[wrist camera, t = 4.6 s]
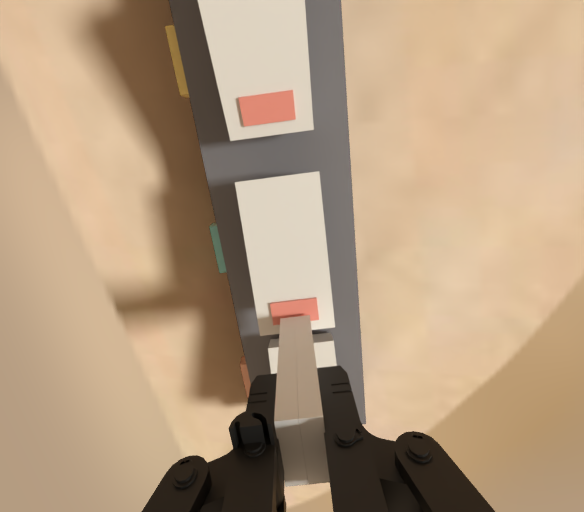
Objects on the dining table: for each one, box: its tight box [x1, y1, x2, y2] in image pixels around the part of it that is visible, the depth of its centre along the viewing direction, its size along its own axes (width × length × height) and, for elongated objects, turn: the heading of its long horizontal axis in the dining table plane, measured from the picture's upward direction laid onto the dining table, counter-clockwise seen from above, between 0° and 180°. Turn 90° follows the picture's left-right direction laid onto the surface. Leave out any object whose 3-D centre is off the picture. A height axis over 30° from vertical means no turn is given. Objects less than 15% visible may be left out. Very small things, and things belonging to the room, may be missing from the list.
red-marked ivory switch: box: [198, 0, 314, 141], centre depth 13 cm, size 8×4×2 cm, turn 8°
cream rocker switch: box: [268, 332, 337, 374], centre depth 19 cm, size 8×4×2 cm, turn 7°
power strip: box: [165, 0, 366, 424], centre depth 18 cm, size 36×8×5 cm, turn 7°
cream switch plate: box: [235, 171, 335, 336], centre depth 16 cm, size 8×4×2 cm, turn 7°
